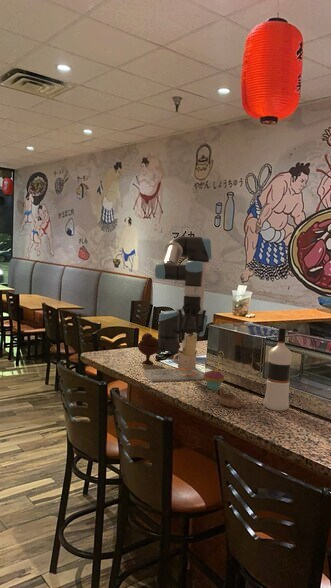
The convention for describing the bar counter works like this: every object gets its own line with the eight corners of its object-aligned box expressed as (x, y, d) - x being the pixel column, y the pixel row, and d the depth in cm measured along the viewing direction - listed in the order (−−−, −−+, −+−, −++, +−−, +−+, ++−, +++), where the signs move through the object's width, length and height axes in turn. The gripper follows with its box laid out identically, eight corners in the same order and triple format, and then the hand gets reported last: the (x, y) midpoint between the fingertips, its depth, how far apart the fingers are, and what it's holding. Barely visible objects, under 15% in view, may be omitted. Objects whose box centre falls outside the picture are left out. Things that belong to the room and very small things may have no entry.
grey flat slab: (143, 373, 210) (143, 369, 210) (194, 372, 218) (194, 367, 218) (151, 381, 199) (151, 376, 198) (204, 379, 207) (205, 374, 207)
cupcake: (219, 385, 199) (221, 357, 198) (226, 390, 191) (228, 362, 190) (200, 385, 197) (202, 357, 196) (206, 391, 189) (208, 362, 188)
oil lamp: (247, 409, 169) (248, 396, 169) (230, 411, 166) (231, 398, 165) (225, 398, 181) (226, 386, 180) (209, 400, 177) (210, 387, 177)
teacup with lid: (189, 365, 232) (191, 342, 231) (199, 369, 224) (201, 346, 223) (168, 366, 226) (170, 343, 225) (177, 371, 218) (179, 346, 217)
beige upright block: (182, 354, 211) (183, 333, 210) (191, 354, 212) (192, 333, 212) (185, 356, 207) (187, 335, 206) (194, 356, 208) (196, 335, 208)
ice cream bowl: (135, 365, 225) (136, 334, 224) (139, 360, 236) (140, 331, 235) (156, 367, 224) (158, 336, 223) (159, 361, 235) (161, 332, 234)
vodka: (262, 409, 170) (268, 328, 168) (264, 402, 179) (270, 325, 177) (288, 413, 167) (295, 331, 165) (289, 405, 176) (296, 327, 174)
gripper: (177, 295, 201) (173, 349, 203) (213, 297, 207) (210, 348, 209) (171, 294, 208) (168, 345, 210) (206, 295, 214) (203, 345, 216)
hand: (189, 347), depth 209 cm, fingers closed on beige upright block, 4 cm apart
